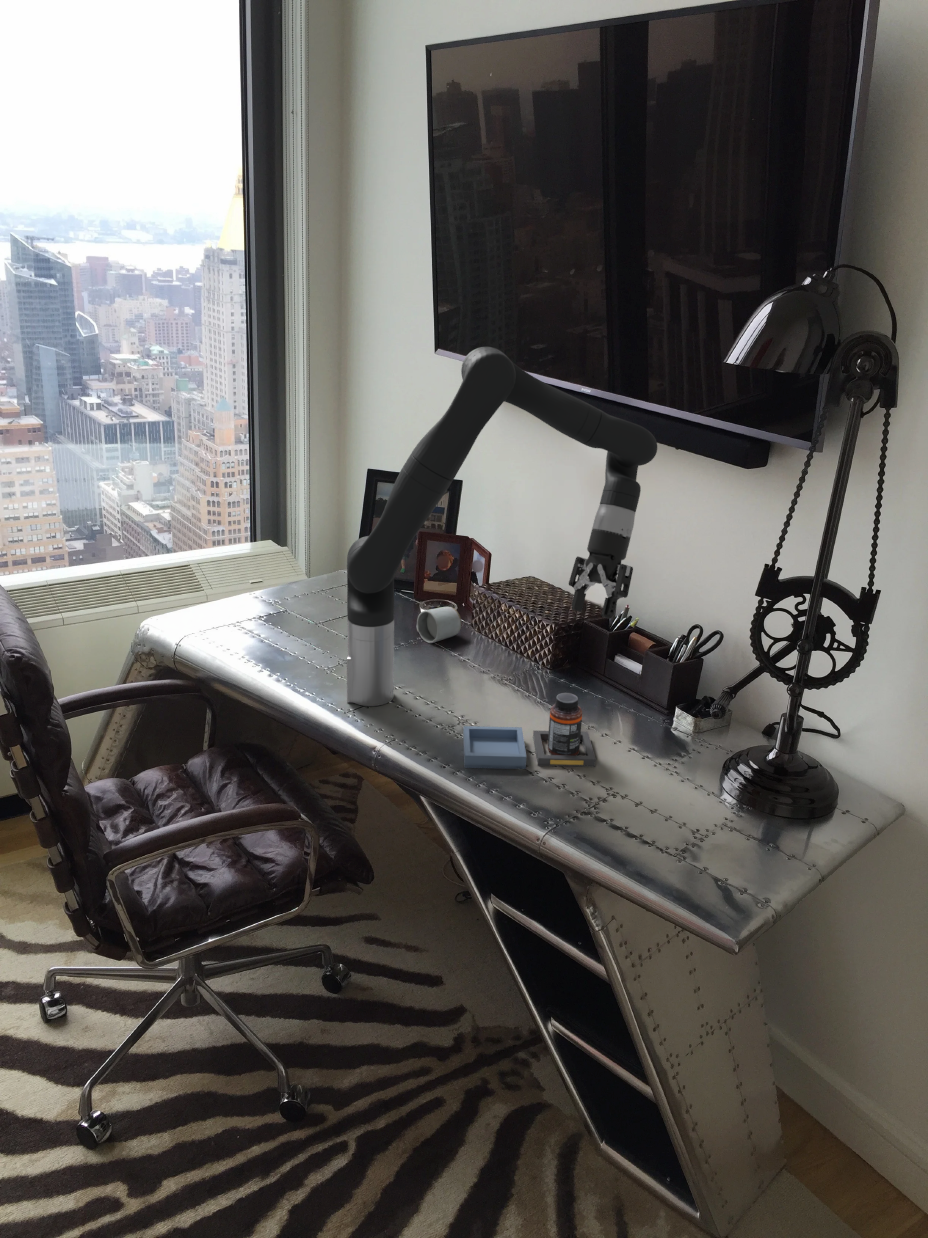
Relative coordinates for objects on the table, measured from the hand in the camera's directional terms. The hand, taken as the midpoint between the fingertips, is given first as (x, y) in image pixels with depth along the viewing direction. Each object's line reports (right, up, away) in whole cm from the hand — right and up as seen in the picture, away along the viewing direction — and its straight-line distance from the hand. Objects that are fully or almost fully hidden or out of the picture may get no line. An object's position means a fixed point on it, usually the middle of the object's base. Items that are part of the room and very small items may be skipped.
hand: (591, 614), depth 190 cm
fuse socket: (-6, -26, -6) cm, 27 cm away
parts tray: (-19, -26, -7) cm, 33 cm away
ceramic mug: (-31, -5, +43) cm, 53 cm away
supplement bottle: (-6, -26, -6) cm, 27 cm away
